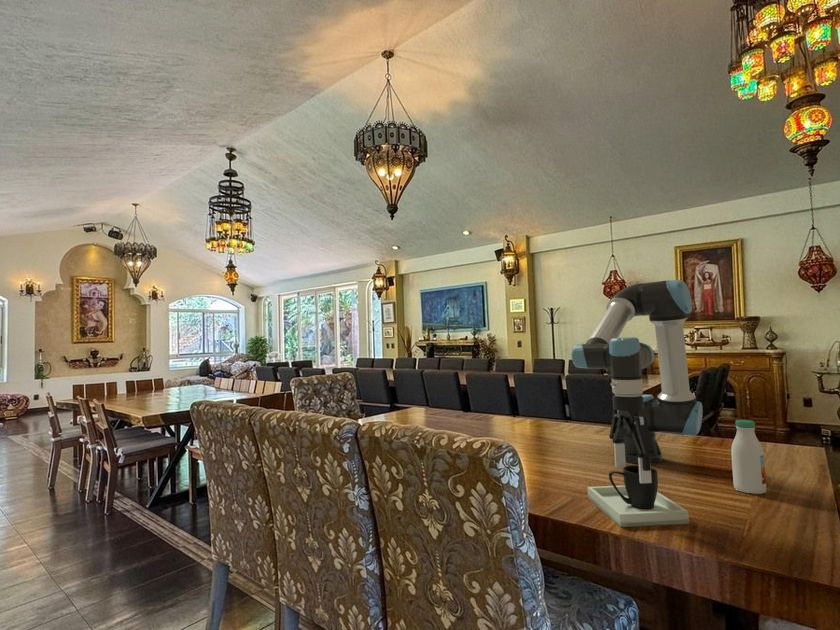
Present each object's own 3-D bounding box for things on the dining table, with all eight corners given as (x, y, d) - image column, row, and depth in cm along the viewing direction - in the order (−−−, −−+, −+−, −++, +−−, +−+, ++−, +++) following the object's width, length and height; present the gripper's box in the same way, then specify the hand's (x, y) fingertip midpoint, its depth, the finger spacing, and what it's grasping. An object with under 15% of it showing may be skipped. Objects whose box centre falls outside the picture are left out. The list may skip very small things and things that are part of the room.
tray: (646, 494, 129) (645, 484, 129) (689, 523, 109) (688, 511, 109) (588, 497, 129) (587, 487, 129) (620, 527, 109) (619, 514, 109)
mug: (607, 498, 125) (605, 464, 125) (654, 500, 122) (652, 465, 123) (613, 510, 117) (611, 473, 117) (663, 512, 114) (661, 474, 114)
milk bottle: (757, 496, 125) (752, 424, 126) (728, 489, 131) (723, 420, 132) (772, 491, 128) (766, 421, 129) (742, 484, 135) (737, 417, 136)
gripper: (594, 389, 133) (599, 461, 132) (636, 402, 108) (642, 491, 107) (619, 388, 133) (624, 460, 132) (667, 400, 108) (673, 489, 107)
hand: (632, 474), depth 120 cm, fingers open, 13 cm apart
